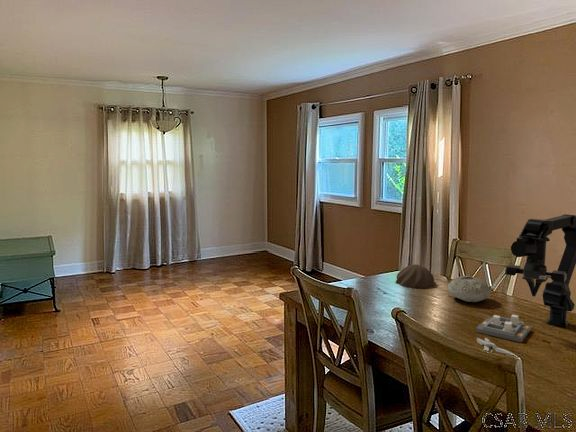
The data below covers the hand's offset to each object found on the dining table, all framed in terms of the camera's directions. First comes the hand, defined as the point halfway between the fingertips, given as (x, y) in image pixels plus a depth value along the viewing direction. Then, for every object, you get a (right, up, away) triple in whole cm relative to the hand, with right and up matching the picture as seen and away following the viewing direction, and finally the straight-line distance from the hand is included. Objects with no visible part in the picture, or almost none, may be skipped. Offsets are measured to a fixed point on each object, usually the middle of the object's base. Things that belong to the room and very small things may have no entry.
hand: (533, 296), depth 158 cm
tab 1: (-12, -11, +3) cm, 17 cm away
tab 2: (-11, -12, -4) cm, 17 cm away
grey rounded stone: (-8, -9, +38) cm, 40 cm away
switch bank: (-10, -13, +1) cm, 17 cm away
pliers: (-22, -16, -15) cm, 31 cm away
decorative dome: (-24, -6, +67) cm, 71 cm away
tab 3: (-6, -11, +3) cm, 13 cm away
